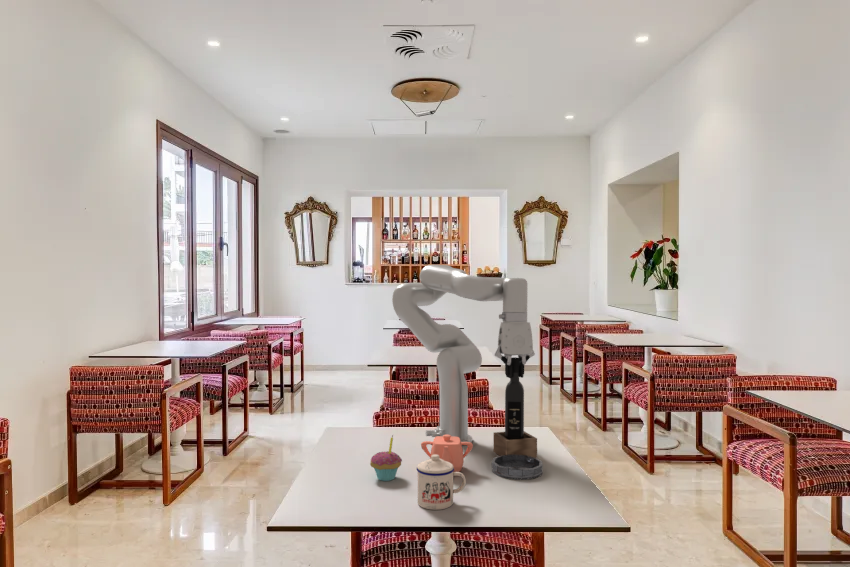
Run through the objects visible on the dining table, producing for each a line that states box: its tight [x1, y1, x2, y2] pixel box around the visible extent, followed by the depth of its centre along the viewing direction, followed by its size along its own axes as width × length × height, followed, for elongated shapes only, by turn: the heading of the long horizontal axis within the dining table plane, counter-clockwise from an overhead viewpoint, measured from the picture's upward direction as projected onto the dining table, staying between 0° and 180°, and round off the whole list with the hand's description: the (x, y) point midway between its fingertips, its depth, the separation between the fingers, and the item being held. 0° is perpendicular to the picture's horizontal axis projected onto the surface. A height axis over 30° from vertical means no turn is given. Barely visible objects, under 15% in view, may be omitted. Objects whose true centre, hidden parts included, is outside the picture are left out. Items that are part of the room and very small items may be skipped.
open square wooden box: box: [493, 430, 538, 458], centre depth 178 cm, size 10×10×6 cm
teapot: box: [420, 434, 474, 472], centre depth 163 cm, size 14×12×10 cm
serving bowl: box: [491, 454, 543, 480], centre depth 163 cm, size 14×14×3 cm
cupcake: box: [369, 434, 403, 482], centre depth 157 cm, size 9×8×12 cm
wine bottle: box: [504, 356, 525, 440], centre depth 178 cm, size 6×6×30 cm
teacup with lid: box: [416, 454, 467, 511], centre depth 139 cm, size 12×9×12 cm
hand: (514, 376), depth 178 cm, fingers closed on wine bottle, 3 cm apart
